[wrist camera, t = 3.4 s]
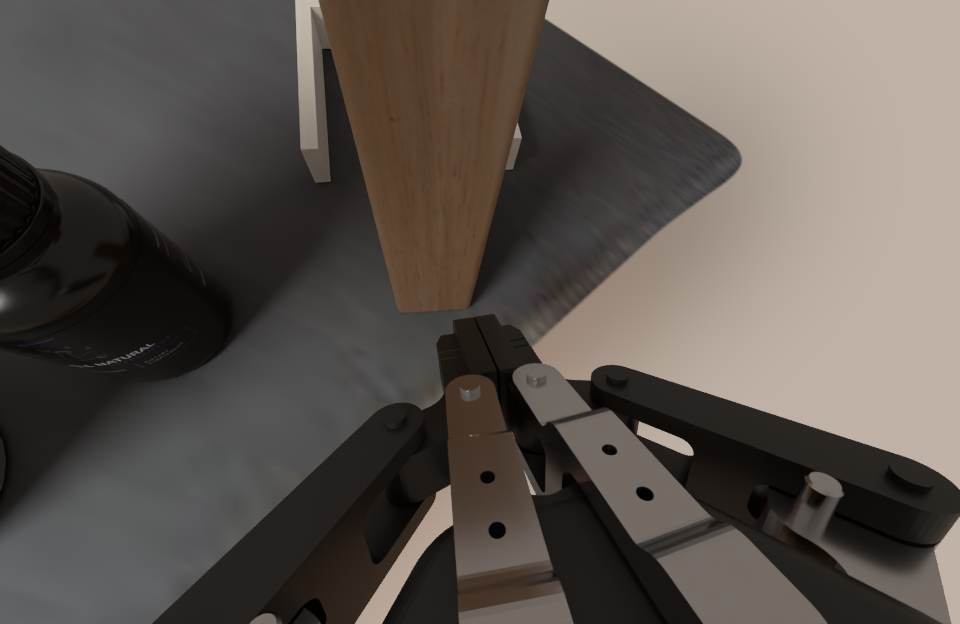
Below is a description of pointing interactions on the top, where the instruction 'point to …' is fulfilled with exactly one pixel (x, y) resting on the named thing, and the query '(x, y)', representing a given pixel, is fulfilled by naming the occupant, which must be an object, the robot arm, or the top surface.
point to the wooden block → (433, 127)
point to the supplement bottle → (99, 281)
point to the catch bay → (313, 92)
